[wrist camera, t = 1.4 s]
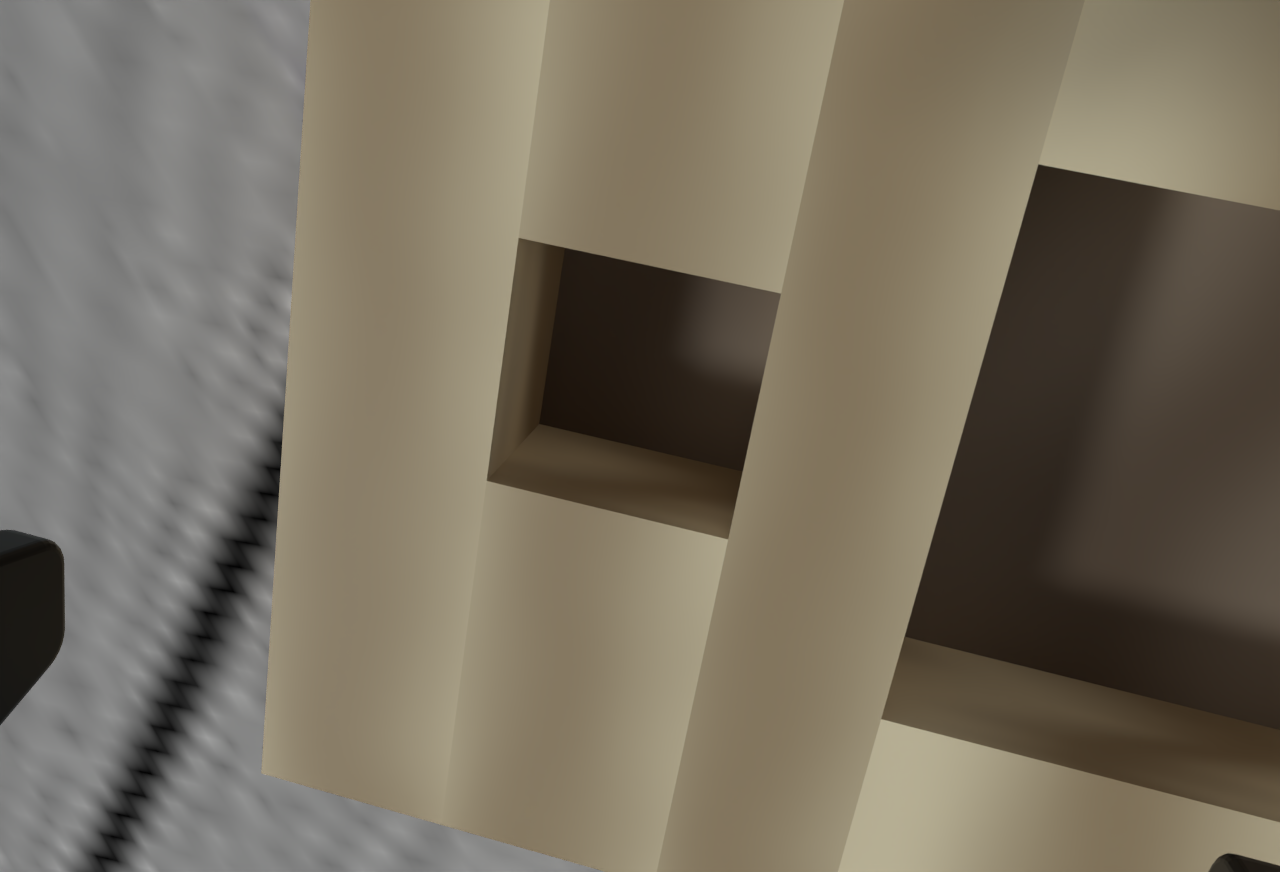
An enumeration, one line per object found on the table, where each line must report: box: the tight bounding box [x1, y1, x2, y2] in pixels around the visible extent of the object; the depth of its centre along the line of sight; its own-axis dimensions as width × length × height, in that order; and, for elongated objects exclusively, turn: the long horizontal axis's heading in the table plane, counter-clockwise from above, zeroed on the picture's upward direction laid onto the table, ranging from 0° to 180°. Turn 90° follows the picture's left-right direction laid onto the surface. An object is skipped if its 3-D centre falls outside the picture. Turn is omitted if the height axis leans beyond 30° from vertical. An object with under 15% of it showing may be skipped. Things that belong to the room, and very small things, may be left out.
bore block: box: [261, 0, 1280, 872], centre depth 17 cm, size 20×16×3 cm
